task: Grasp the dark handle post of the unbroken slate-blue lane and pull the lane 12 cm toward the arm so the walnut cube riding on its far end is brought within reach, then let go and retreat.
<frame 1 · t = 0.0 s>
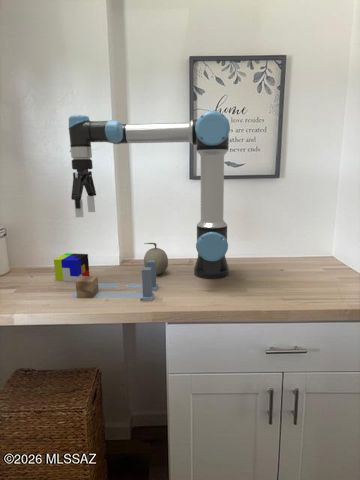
hand: (85, 214, 137), 28 cm above the counter, fingers open, 13 cm apart
cube: (88, 294, 128), point 1 cm above the counter, touching lane a
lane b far: (100, 287, 137), on the counter
lane b near: (141, 274, 134), point 6 cm above the counter, slide at 0.0 cm
lane a: (111, 283, 126), point 6 cm above the counter, slide at 0.0 cm, touching cube
puzzle toy: (73, 280, 147), on the counter
fruit: (156, 274, 153), on the counter
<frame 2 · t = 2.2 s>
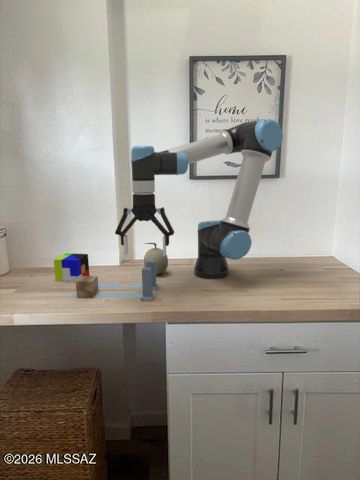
hand: (145, 254, 122), 16 cm above the counter, fingers open, 13 cm apart
nothing on the counter moved.
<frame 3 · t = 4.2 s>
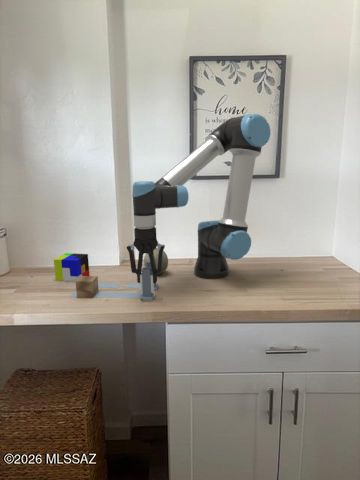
hand: (147, 291, 125), 3 cm above the counter, fingers closed on lane a, 3 cm apart
lane a: (111, 283, 126), point 6 cm above the counter, slide at 0.0 cm, touching cube, gripper
everything else where it was.
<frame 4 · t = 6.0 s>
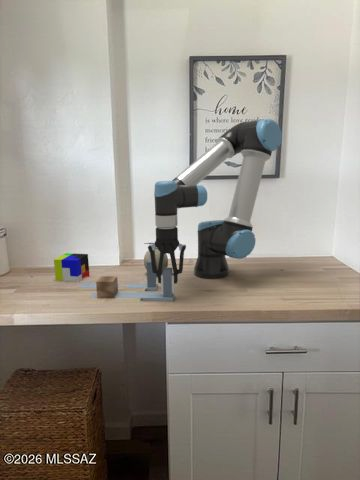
hand: (168, 291, 125), 3 cm above the counter, fingers closed on lane a, 3 cm apart
cube: (107, 294, 127), point 1 cm above the counter, touching lane a
lane a: (131, 283, 125), point 6 cm above the counter, slide at 7.4 cm, touching cube, gripper
everything else where it was.
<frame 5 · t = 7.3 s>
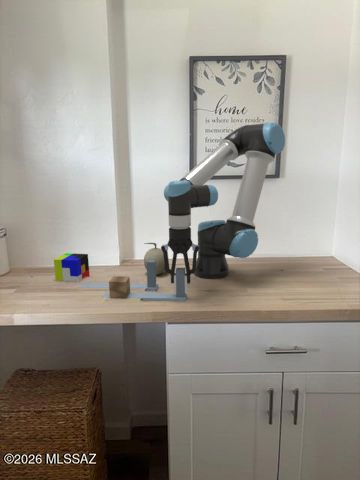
hand: (180, 291, 124), 3 cm above the counter, fingers closed on lane a, 3 cm apart
cube: (120, 294, 127), point 1 cm above the counter, touching lane a
lane a: (144, 283, 125), point 6 cm above the counter, slide at 12.0 cm, touching cube, gripper
everything else where it was.
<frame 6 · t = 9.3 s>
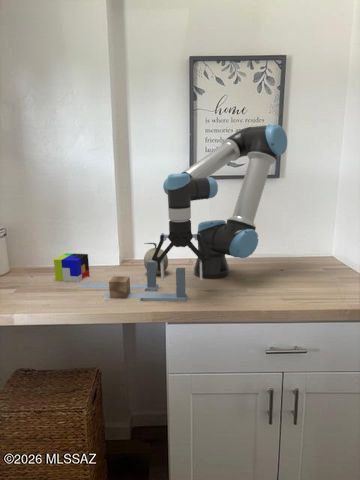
hand: (181, 279, 124), 7 cm above the counter, fingers open, 13 cm apart
lane a: (144, 283, 125), point 6 cm above the counter, slide at 12.0 cm, touching cube
everything else where it was.
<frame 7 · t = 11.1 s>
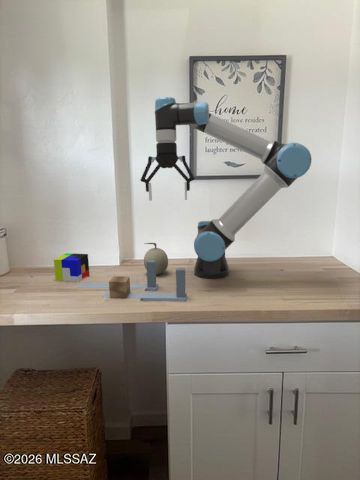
hand: (168, 200, 134), 33 cm above the counter, fingers open, 13 cm apart
nothing on the counter moved.
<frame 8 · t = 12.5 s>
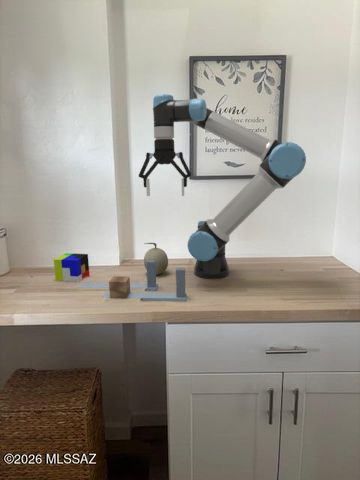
hand: (165, 195, 136), 35 cm above the counter, fingers open, 13 cm apart
nothing on the counter moved.
at the end: lane a slide at 12.0 cm; cube inside the target area (0.0 cm from its centre), point 1.0 cm above the counter; cube tilted 0° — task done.
